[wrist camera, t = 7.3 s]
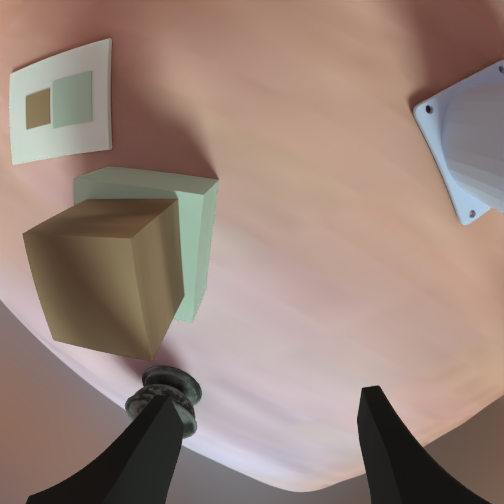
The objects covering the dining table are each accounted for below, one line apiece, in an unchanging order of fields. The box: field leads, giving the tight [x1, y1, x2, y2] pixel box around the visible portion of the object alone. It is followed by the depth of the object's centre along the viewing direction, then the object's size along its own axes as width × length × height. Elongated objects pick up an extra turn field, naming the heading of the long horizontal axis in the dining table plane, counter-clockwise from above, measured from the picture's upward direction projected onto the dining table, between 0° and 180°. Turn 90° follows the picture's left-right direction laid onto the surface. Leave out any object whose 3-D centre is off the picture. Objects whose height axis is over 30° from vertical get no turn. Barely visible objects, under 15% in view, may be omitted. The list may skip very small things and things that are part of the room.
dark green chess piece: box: [125, 366, 202, 439], centre depth 19 cm, size 6×6×12 cm
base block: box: [74, 166, 219, 323], centre depth 17 cm, size 7×7×4 cm
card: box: [9, 38, 112, 165], centre depth 15 cm, size 9×7×1 cm
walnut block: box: [23, 199, 185, 361], centre depth 12 cm, size 5×5×5 cm
